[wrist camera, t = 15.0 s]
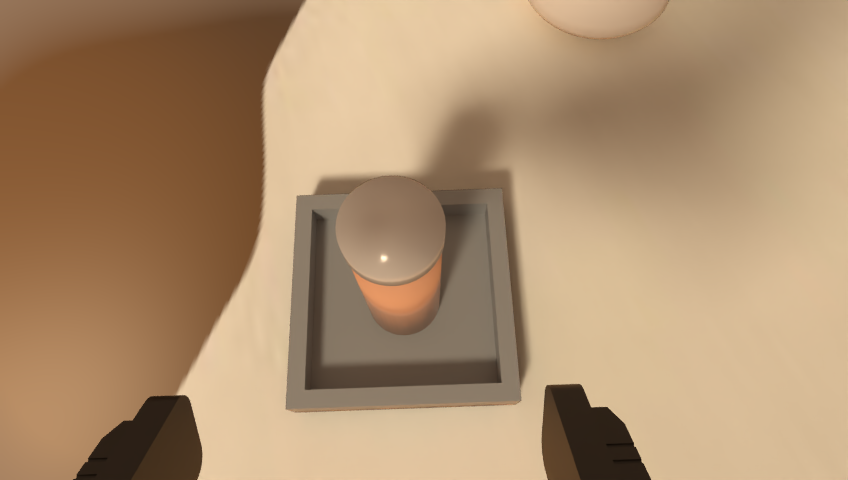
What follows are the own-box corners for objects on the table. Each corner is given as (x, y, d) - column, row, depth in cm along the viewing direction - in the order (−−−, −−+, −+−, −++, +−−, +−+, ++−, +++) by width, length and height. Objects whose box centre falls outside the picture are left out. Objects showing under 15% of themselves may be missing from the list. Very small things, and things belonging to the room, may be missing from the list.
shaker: (439, 263, 36) (443, 173, 24) (442, 335, 34) (448, 275, 23) (367, 266, 36) (336, 177, 24) (367, 338, 34) (334, 280, 23)
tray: (497, 204, 38) (501, 188, 36) (515, 404, 33) (521, 400, 31) (305, 211, 38) (296, 195, 36) (295, 412, 33) (285, 409, 31)
